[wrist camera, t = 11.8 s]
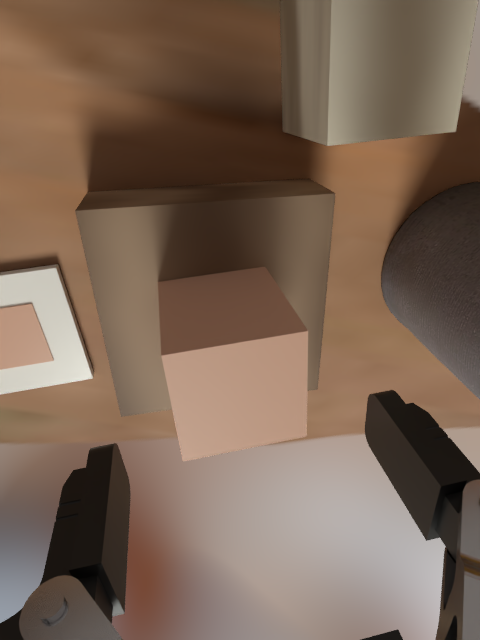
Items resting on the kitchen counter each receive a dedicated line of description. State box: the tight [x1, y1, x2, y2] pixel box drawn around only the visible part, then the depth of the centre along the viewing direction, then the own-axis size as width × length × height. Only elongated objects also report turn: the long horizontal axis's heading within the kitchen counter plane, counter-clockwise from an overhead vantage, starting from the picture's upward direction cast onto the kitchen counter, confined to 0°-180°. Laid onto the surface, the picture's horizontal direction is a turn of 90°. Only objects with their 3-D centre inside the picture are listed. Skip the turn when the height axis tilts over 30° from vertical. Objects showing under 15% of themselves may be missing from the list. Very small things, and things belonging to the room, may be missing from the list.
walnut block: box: [75, 179, 335, 417], centre depth 22 cm, size 11×11×4 cm
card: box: [0, 264, 94, 394], centre depth 22 cm, size 7×7×1 cm
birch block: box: [280, 0, 479, 146], centre depth 16 cm, size 5×5×6 cm
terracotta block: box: [158, 267, 308, 461], centre depth 17 cm, size 5×5×6 cm
